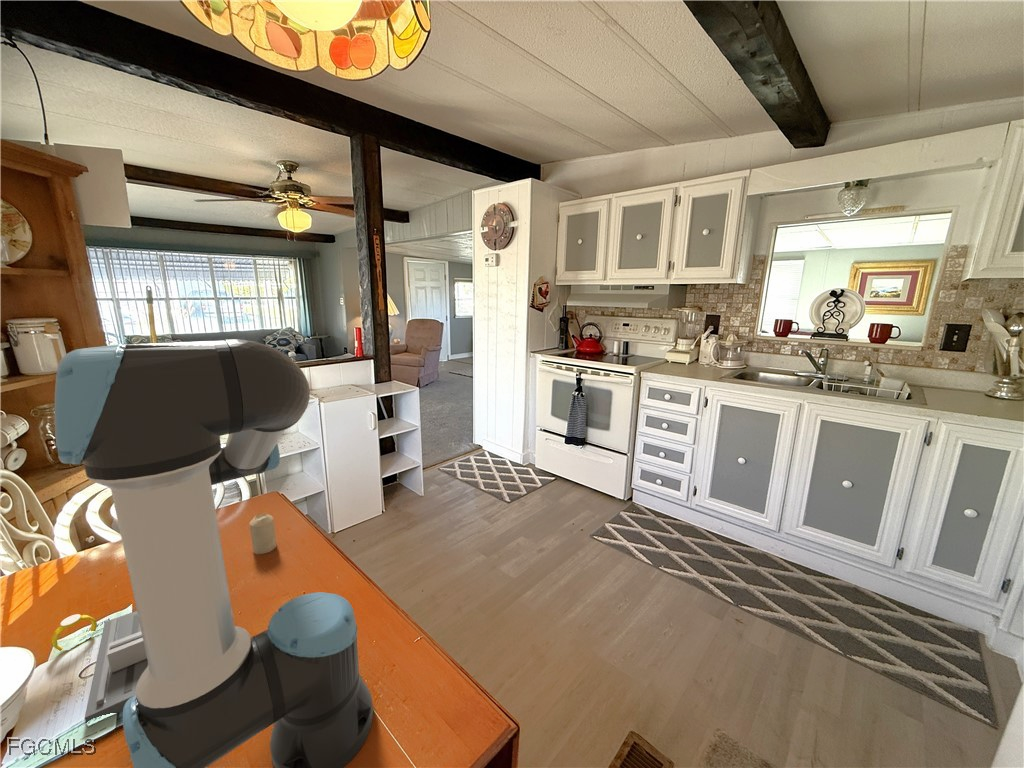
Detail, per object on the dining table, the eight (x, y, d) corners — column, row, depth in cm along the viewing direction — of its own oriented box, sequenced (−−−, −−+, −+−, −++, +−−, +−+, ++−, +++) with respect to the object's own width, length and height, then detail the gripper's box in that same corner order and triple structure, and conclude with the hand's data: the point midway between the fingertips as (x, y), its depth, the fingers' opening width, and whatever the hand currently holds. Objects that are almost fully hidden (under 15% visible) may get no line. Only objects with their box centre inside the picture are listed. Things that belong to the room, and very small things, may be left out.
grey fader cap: (149, 657, 74) (145, 639, 73) (111, 672, 71) (106, 654, 70) (149, 646, 76) (145, 628, 75) (113, 660, 73) (109, 642, 72)
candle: (248, 552, 107) (243, 519, 105) (265, 540, 112) (261, 508, 110) (263, 556, 106) (259, 523, 103) (281, 544, 111) (277, 512, 108)
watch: (61, 659, 76) (50, 635, 74) (54, 653, 77) (44, 630, 75) (102, 633, 81) (93, 610, 79) (95, 628, 82) (86, 606, 80)
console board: (222, 664, 75) (220, 652, 75) (87, 727, 64) (83, 714, 63) (213, 591, 93) (212, 580, 93) (106, 630, 82) (103, 618, 81)
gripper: (190, 510, 78) (208, 610, 83) (189, 485, 88) (204, 576, 93) (139, 523, 73) (161, 628, 79) (144, 495, 83) (163, 590, 88)
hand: (184, 600), depth 86 cm, fingers closed
